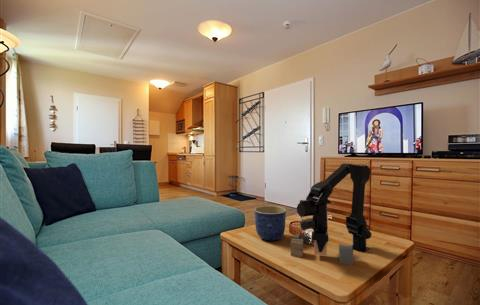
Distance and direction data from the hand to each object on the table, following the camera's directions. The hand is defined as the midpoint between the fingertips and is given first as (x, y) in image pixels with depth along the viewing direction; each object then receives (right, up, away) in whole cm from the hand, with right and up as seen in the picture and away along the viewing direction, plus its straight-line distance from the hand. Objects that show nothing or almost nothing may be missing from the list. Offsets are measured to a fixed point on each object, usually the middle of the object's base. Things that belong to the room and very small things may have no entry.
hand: (320, 249), depth 100 cm
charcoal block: (+10, -3, -3) cm, 11 cm away
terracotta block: (0, -1, 0) cm, 1 cm away
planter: (-19, -4, +23) cm, 30 cm away
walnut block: (-9, -4, +3) cm, 11 cm away
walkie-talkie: (-2, -4, +19) cm, 20 cm away
